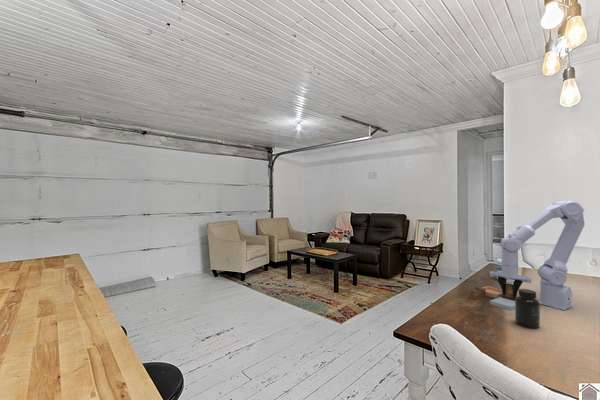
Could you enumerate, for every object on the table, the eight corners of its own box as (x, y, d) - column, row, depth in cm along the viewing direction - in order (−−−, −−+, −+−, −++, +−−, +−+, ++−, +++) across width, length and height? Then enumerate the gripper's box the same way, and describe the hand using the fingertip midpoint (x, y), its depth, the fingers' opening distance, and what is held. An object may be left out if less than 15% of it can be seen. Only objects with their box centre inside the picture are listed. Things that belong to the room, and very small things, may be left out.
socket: (523, 301, 123) (523, 298, 123) (514, 304, 120) (514, 301, 120) (505, 296, 129) (505, 293, 129) (496, 299, 126) (496, 296, 126)
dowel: (515, 300, 124) (515, 284, 124) (512, 302, 122) (512, 286, 122) (507, 298, 127) (507, 283, 126) (503, 299, 125) (503, 284, 125)
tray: (508, 295, 131) (508, 291, 131) (498, 299, 126) (498, 294, 126) (487, 289, 139) (487, 286, 139) (476, 292, 134) (476, 289, 134)
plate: (521, 307, 117) (521, 303, 117) (511, 311, 113) (511, 306, 113) (499, 301, 124) (499, 297, 124) (489, 305, 120) (489, 300, 120)
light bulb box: (512, 283, 149) (512, 262, 148) (496, 281, 153) (496, 261, 152) (512, 278, 157) (512, 259, 157) (497, 276, 161) (497, 257, 161)
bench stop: (485, 296, 129) (485, 286, 129) (475, 299, 126) (475, 289, 125) (480, 295, 131) (480, 285, 131) (470, 298, 127) (470, 288, 127)
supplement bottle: (537, 322, 102) (537, 289, 102) (541, 330, 96) (541, 295, 96) (513, 318, 106) (513, 286, 106) (516, 326, 100) (516, 292, 100)
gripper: (532, 266, 121) (532, 297, 122) (493, 260, 132) (493, 289, 132) (529, 269, 117) (529, 302, 117) (488, 263, 128) (488, 293, 128)
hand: (509, 295), depth 124 cm, fingers closed on dowel, 3 cm apart
